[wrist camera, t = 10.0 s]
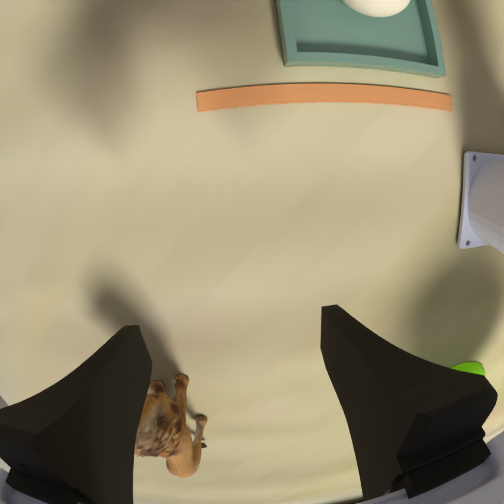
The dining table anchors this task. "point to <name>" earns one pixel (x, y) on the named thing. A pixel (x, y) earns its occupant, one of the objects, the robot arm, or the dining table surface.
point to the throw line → (320, 96)
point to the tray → (360, 37)
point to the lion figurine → (170, 430)
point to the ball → (377, 7)
